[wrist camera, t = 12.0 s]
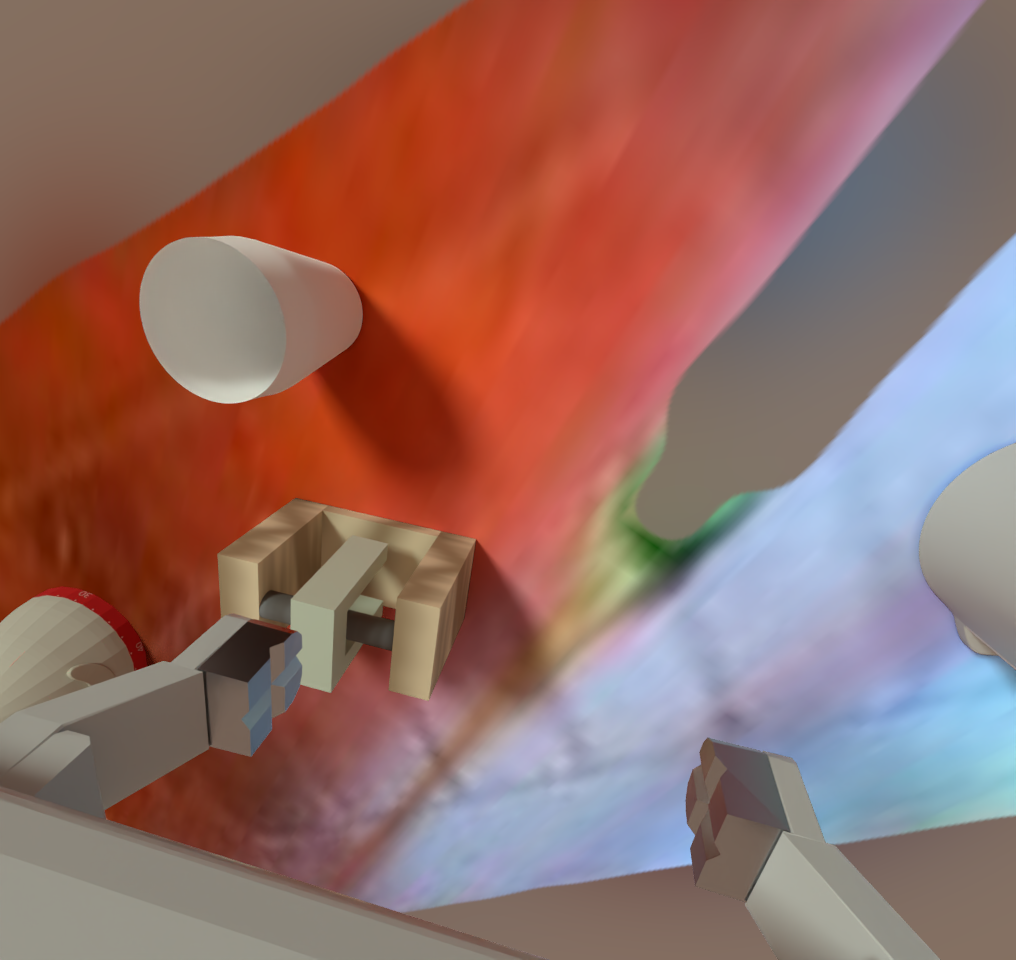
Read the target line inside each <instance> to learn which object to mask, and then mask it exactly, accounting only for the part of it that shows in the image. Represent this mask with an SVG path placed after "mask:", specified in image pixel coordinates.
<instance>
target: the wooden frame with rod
mask: <svg viewBox="0 0 1016 960" xmlns="http://www.w3.org/2000/svg"><path fill="white" fill-rule="evenodd" d="M352 535H355V536H359V537H363V538H367V539H371V540H375V541H379V542H383V543H387V544H388V552H387V560H386V562H385V563H384V564H383V565H382V567H381V568H380V569H379V571H378V572H377V573H376V575H375V576H374V577H373V578H372V580H371V581H370V582H369V584H368V585H367V586H366V588H365V589H364V590H363V592H362V593H361V594H360V595H363V596H367V597H371V598H375V599H379V600H383V606H385V607H389V608H393V609H396V614H395V621H393V620H389V619H385V618H381V617H377V616H373V615H369V614H365V613H361V612H357V611H353V610H348V611H347V628H346V639H347V640H351V641H355V642H359V643H363V644H367V645H371V646H375V647H379V648H383V649H386V650H390V651H392V658H391V669H390V680H389V691H393V692H397V693H401V694H405V695H408V696H412V697H416V698H420V699H423V700H427V701H429V699H430V696H431V694H432V692H433V689H434V687H435V685H436V683H437V680H438V678H439V676H440V673H441V671H442V669H443V666H444V664H445V662H446V659H447V657H448V655H449V653H450V650H451V648H452V646H453V643H454V641H455V639H456V636H457V634H458V632H459V629H460V627H461V625H462V623H463V620H464V617H465V610H466V603H467V597H468V590H469V583H470V577H471V570H472V563H473V556H474V550H475V543H476V539H473V538H468V537H464V536H460V535H455V534H451V533H446V532H442V531H438V530H433V529H429V528H425V527H420V526H416V525H411V524H407V523H403V522H398V521H394V520H390V519H385V518H381V517H376V516H372V515H368V514H363V513H359V512H355V511H350V510H346V509H341V508H337V507H333V506H328V505H324V504H319V503H315V502H311V501H306V500H302V499H298V498H295V499H293V500H292V501H291V502H289V503H288V504H286V505H285V506H284V507H282V508H281V509H279V510H278V511H277V512H275V513H274V514H273V515H271V516H270V517H268V518H267V519H266V520H264V521H263V522H261V523H260V524H259V525H257V526H256V527H254V528H253V529H252V530H250V531H249V532H247V533H246V534H245V535H243V536H242V537H240V538H239V539H238V540H236V541H235V542H233V543H232V544H231V545H229V546H228V547H226V548H225V549H224V550H222V551H221V552H220V553H218V570H219V587H220V604H221V618H222V617H224V616H225V615H228V614H231V613H234V614H237V615H241V616H244V617H247V618H251V619H257V620H260V621H263V622H267V623H270V624H274V625H277V626H281V627H284V628H287V626H288V625H291V598H292V597H293V596H294V595H295V594H296V593H297V592H298V591H299V590H300V589H301V588H302V587H303V586H304V585H305V584H306V583H307V582H308V581H309V580H310V579H311V578H312V577H313V575H314V574H315V573H316V572H317V571H318V570H319V569H320V568H321V567H322V566H323V565H324V564H325V563H326V562H327V561H328V560H329V559H330V558H331V557H332V556H333V555H334V554H335V553H336V552H337V550H338V549H339V548H340V547H341V546H342V545H343V544H344V543H345V542H346V541H347V540H348V539H349V538H350V537H351V536H352Z"/></svg>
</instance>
